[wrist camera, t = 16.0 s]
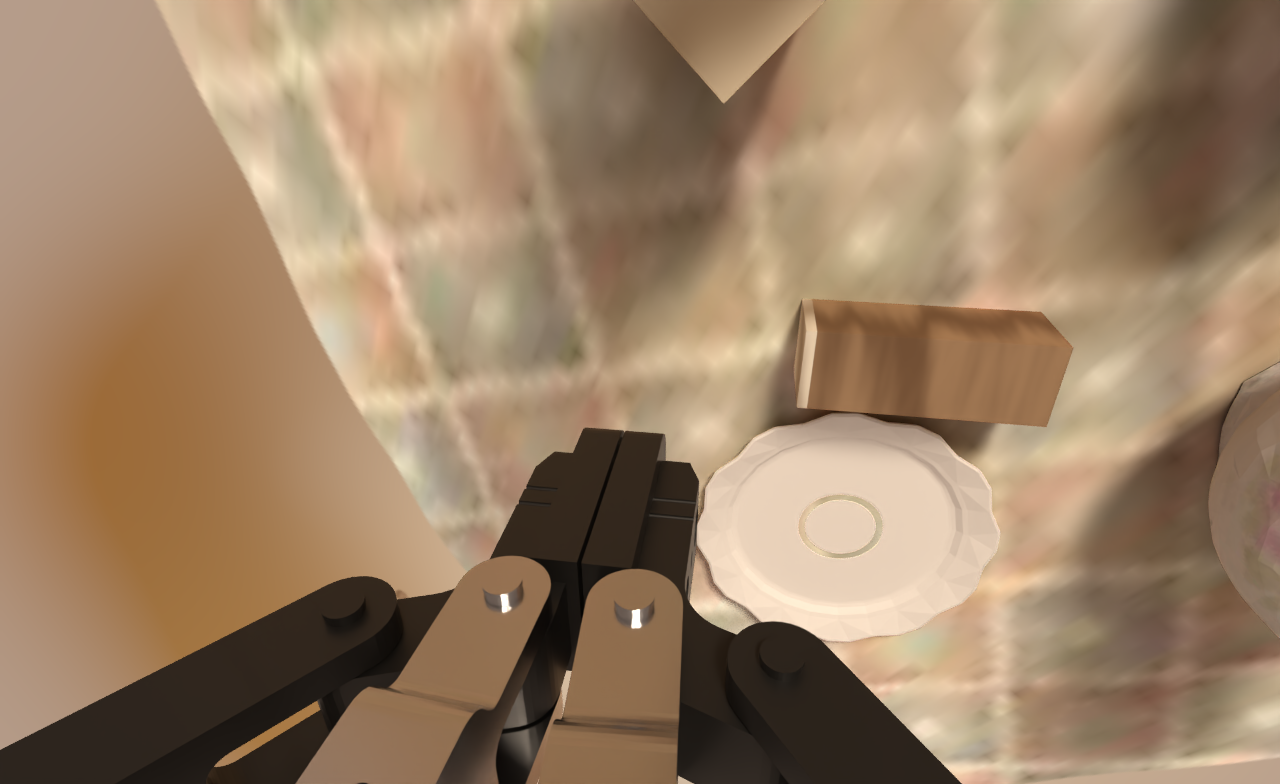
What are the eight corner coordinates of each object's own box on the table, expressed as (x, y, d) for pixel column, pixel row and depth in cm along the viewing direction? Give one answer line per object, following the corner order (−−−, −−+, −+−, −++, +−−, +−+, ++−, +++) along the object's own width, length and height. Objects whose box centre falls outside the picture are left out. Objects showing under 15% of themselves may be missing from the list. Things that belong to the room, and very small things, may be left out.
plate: (678, 592, 57) (676, 607, 56) (731, 376, 47) (729, 388, 45) (930, 649, 56) (934, 666, 54) (1042, 439, 45) (1051, 453, 44)
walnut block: (796, 407, 41) (1046, 426, 39) (806, 331, 39) (1073, 347, 37) (793, 369, 45) (1018, 385, 44) (802, 298, 43) (1041, 312, 41)
